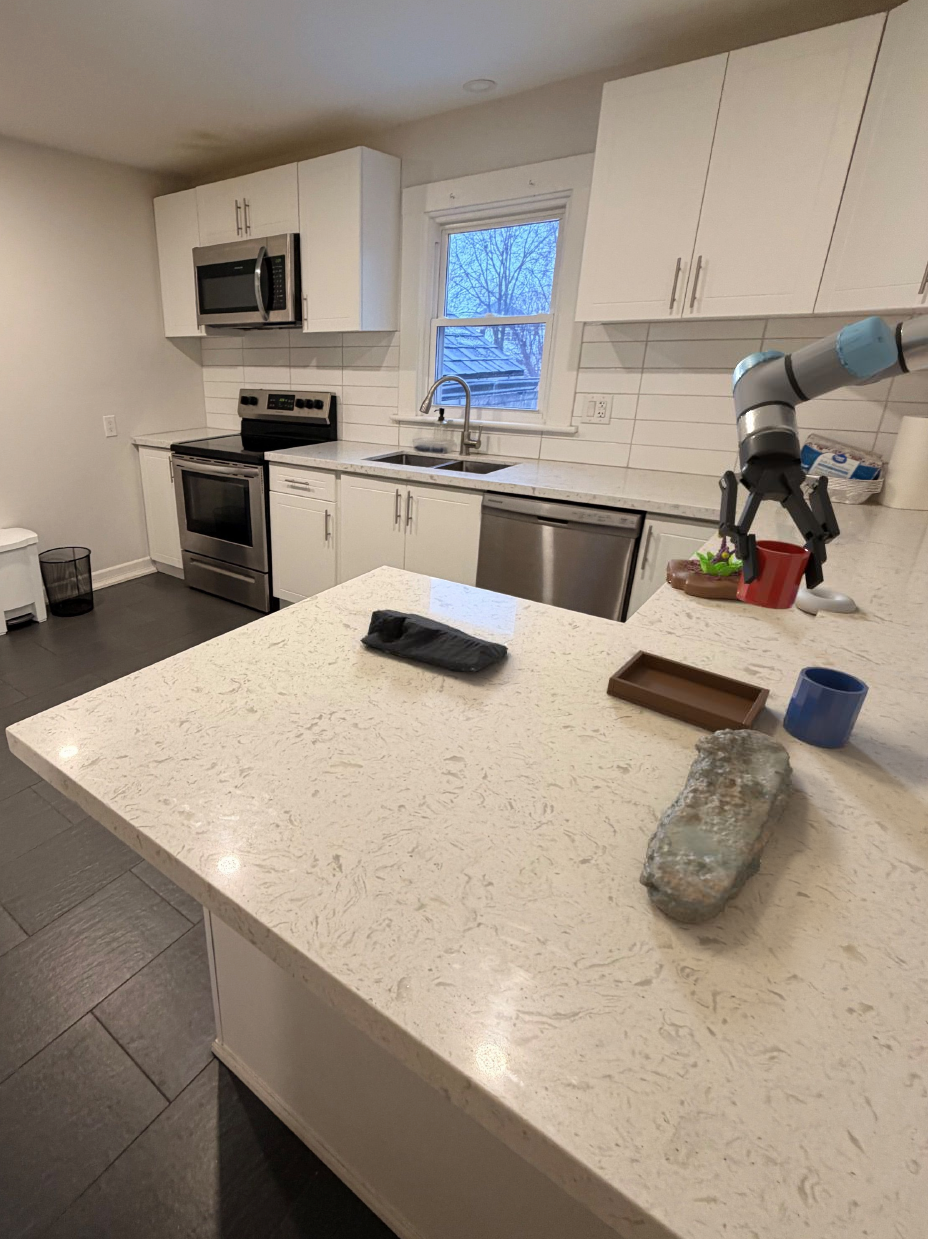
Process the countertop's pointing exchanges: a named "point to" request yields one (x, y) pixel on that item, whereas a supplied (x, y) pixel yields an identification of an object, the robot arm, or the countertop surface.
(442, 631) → the folded black pouch
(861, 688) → the blue cup
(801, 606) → the donut
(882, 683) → the countertop surface
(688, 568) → the plant
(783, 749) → the elongated rock
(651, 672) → the tray
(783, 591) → the red cup
